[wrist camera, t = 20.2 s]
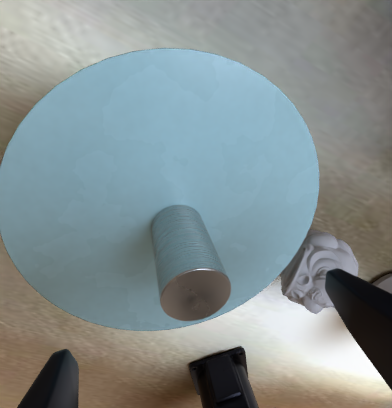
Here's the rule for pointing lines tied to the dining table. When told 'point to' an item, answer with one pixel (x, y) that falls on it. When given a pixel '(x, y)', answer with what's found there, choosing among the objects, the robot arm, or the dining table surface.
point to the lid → (157, 189)
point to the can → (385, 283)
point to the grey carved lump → (316, 269)
